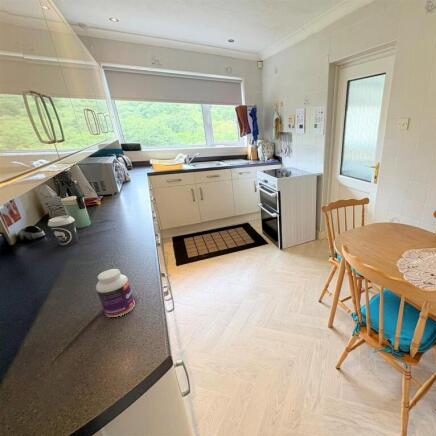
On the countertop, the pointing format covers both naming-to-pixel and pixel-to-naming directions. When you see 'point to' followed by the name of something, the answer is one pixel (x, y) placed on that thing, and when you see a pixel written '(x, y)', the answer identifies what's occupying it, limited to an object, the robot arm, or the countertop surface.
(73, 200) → the thermos lid
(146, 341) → the countertop surface
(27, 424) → the countertop surface
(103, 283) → the pill bottle
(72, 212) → the thermos
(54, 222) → the coffee cup
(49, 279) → the countertop surface
